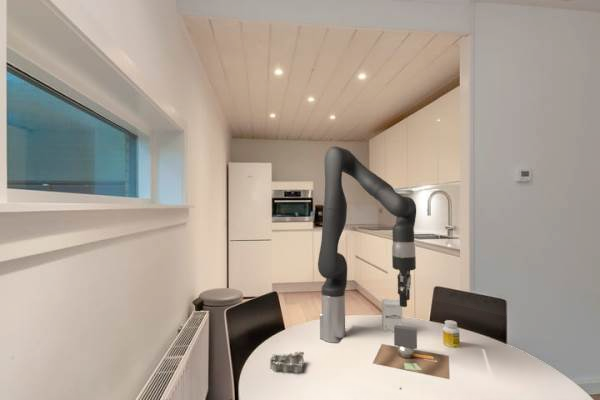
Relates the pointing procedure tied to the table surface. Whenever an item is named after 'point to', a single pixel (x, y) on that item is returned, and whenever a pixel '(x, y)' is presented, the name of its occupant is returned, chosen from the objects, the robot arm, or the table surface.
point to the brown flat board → (414, 361)
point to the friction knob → (407, 342)
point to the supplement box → (391, 314)
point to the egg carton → (285, 358)
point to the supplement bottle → (451, 334)
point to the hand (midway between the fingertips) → (404, 303)
